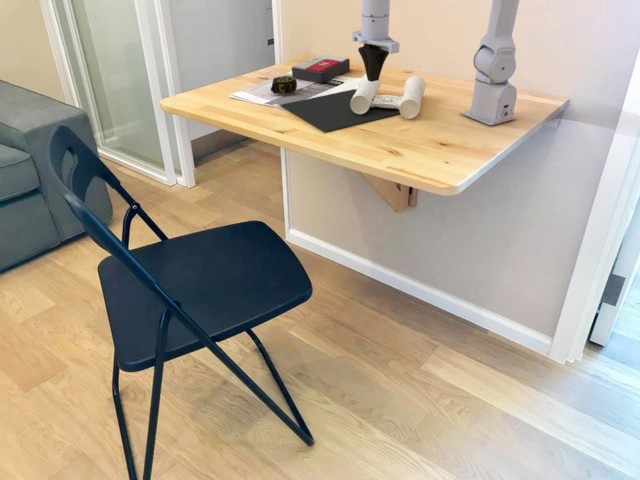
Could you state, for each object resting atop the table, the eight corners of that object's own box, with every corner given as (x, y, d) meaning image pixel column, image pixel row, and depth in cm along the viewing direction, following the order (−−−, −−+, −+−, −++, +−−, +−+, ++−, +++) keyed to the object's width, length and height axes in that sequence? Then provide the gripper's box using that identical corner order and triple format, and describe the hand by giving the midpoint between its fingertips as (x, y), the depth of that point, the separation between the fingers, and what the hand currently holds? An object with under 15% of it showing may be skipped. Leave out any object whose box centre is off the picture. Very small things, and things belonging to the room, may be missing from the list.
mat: (404, 113, 129) (405, 111, 129) (325, 132, 119) (324, 131, 119) (354, 90, 145) (354, 89, 144) (280, 105, 135) (280, 104, 135)
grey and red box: (290, 65, 154) (320, 51, 163) (291, 79, 156) (321, 65, 166) (321, 70, 148) (350, 56, 158) (321, 85, 151) (350, 70, 160)
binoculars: (419, 121, 124) (424, 97, 139) (422, 98, 121) (426, 76, 136) (348, 114, 127) (360, 91, 142) (349, 92, 124) (361, 71, 139)
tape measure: (273, 88, 147) (272, 75, 145) (297, 88, 147) (297, 74, 145) (271, 96, 142) (270, 82, 139) (296, 96, 141) (295, 82, 139)
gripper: (340, 11, 113) (340, 75, 120) (380, 22, 102) (377, 91, 110) (367, 8, 116) (365, 70, 123) (409, 18, 105) (404, 86, 113)
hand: (373, 80), depth 117 cm, fingers closed
